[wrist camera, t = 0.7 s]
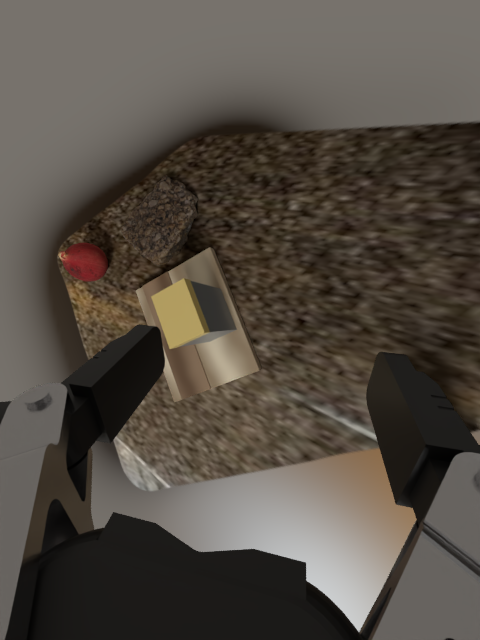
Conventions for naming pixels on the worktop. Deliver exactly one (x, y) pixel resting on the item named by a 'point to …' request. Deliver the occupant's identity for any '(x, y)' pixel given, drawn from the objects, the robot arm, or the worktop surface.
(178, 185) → the concrete sample
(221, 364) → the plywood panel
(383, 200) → the worktop surface
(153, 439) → the worktop surface
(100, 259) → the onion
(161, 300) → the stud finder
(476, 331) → the worktop surface
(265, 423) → the worktop surface
